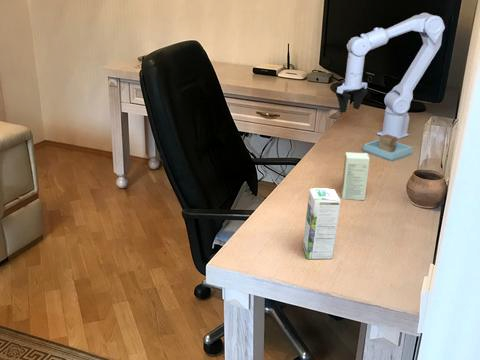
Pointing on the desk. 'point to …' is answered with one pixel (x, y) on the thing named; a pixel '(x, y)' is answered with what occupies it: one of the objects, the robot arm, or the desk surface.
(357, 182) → the skincare box
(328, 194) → the syrup box
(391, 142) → the walnut block
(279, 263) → the desk surface
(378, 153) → the tray
